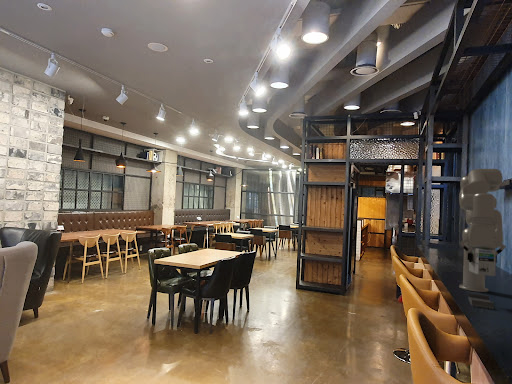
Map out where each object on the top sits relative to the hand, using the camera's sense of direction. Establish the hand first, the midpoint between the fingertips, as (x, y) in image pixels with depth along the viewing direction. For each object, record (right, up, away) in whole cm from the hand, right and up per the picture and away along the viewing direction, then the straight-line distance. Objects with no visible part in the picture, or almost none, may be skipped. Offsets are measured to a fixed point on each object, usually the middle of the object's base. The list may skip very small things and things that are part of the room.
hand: (481, 263), depth 151 cm
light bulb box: (0, -5, 0) cm, 5 cm away
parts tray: (-1, -17, -1) cm, 17 cm away
